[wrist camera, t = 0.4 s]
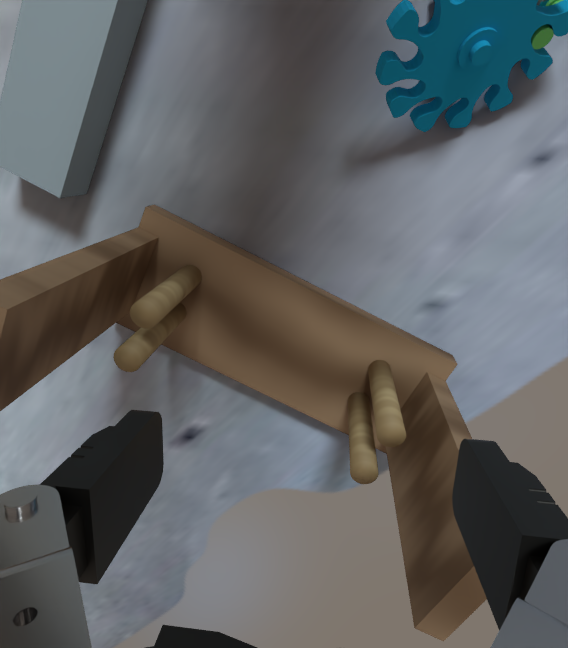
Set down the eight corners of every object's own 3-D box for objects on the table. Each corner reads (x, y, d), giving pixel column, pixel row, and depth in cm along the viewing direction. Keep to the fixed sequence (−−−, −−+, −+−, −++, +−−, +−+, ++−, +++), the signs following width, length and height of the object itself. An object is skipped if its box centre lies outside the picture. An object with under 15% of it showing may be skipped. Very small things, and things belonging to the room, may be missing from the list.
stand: (154, 204, 31) (-24, 255, 16) (452, 355, 33) (552, 534, 17) (116, 311, 35) (-61, 438, 19) (388, 443, 36) (425, 659, 21)
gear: (380, 157, 27) (388, -28, 18) (354, 94, 30) (350, -96, 21) (564, 108, 26) (668, -111, 17) (521, 47, 29) (592, -170, 20)
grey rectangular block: (101, -147, 25) (64, -194, 21) (182, -100, 25) (158, -138, 22) (24, 159, 32) (-13, 160, 28) (89, 193, 32) (59, 198, 28)
